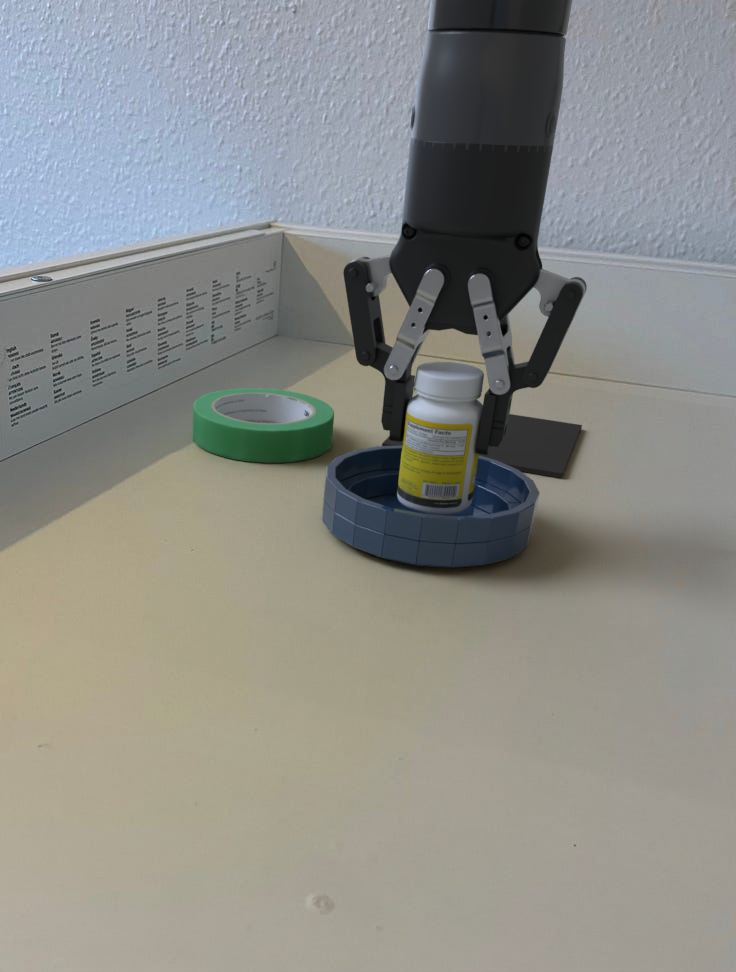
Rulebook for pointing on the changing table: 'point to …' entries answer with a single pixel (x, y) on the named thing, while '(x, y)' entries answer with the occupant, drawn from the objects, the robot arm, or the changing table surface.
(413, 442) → the supplement bottle
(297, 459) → the tape roll
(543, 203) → the robot arm
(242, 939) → the changing table surface
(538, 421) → the mat
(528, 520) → the dish
